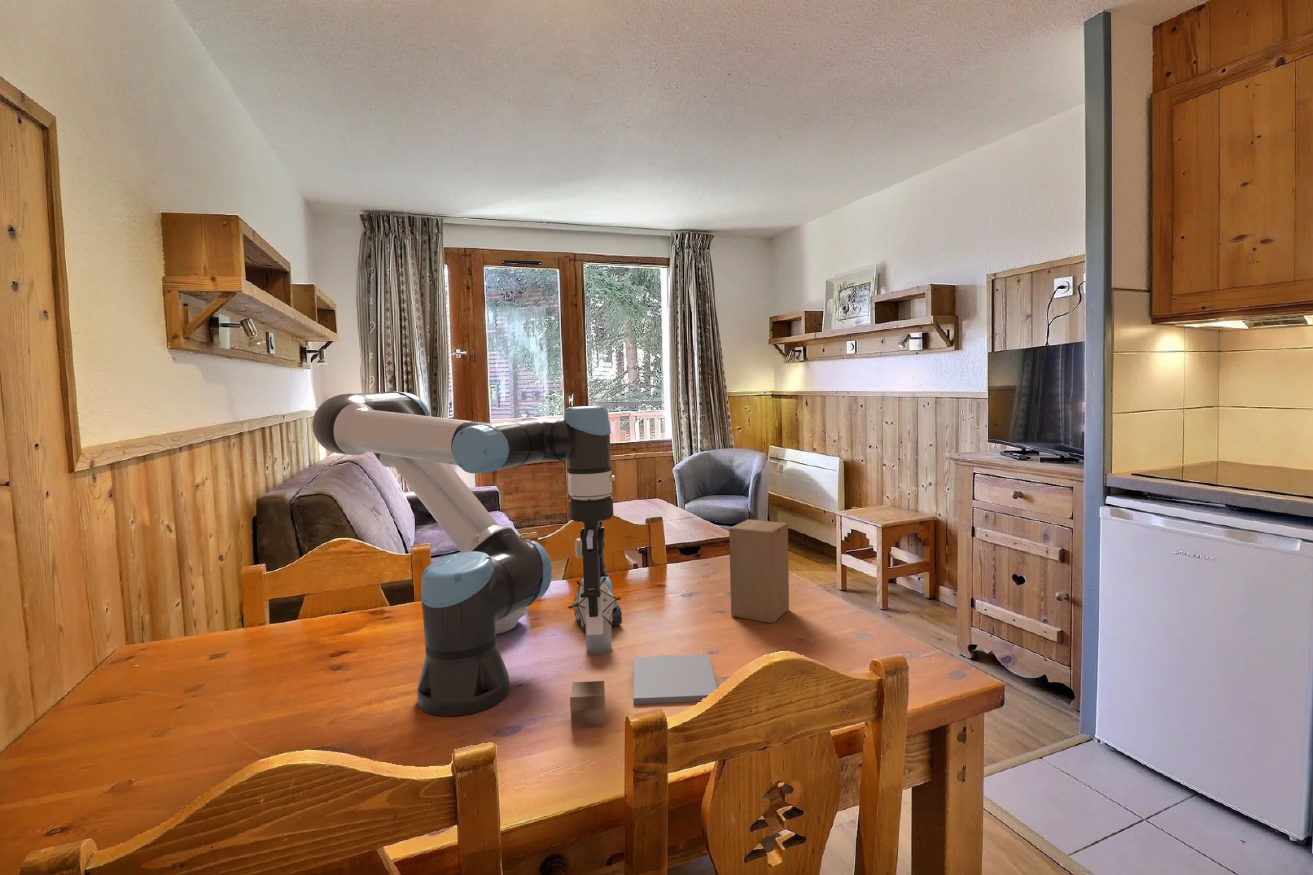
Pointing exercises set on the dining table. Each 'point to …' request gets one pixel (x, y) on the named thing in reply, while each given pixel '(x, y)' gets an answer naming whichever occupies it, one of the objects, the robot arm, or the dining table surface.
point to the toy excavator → (617, 612)
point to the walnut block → (587, 704)
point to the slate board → (673, 678)
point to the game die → (607, 603)
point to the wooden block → (759, 570)
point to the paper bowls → (509, 620)
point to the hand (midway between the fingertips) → (596, 623)
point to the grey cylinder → (600, 641)
